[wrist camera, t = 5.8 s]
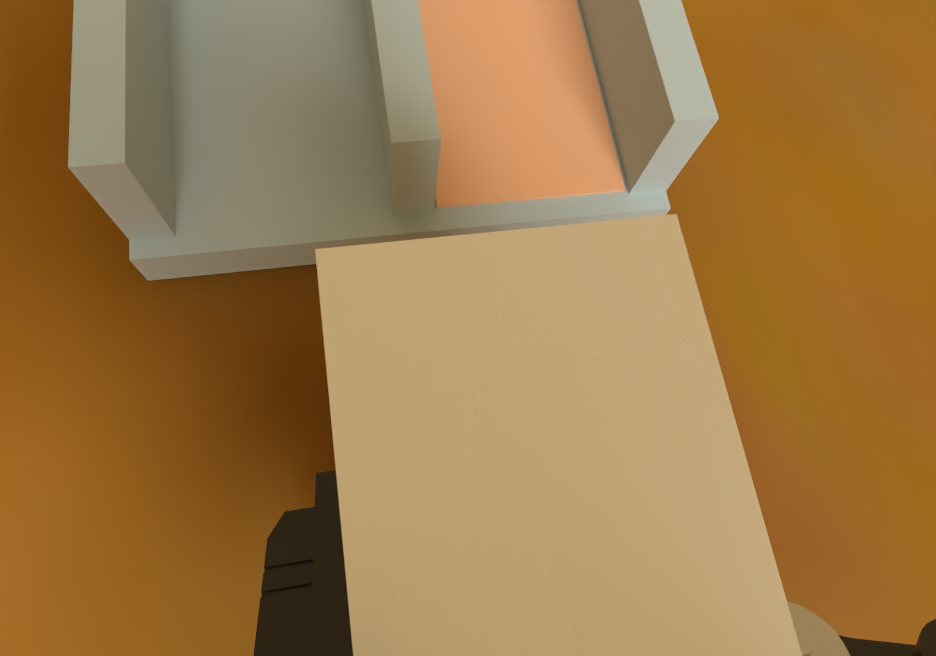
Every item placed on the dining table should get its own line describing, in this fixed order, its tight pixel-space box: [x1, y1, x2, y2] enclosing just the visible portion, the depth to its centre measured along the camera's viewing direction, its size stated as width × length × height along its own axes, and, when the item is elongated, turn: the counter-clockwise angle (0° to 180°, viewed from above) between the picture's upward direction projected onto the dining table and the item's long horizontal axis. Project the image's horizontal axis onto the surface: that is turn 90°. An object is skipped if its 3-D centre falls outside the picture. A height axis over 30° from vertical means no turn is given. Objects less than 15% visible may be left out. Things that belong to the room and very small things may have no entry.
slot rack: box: [68, 0, 719, 281], centre depth 17 cm, size 11×13×4 cm
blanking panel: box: [315, 214, 802, 656], centre depth 10 cm, size 6×4×10 cm, turn 9°
